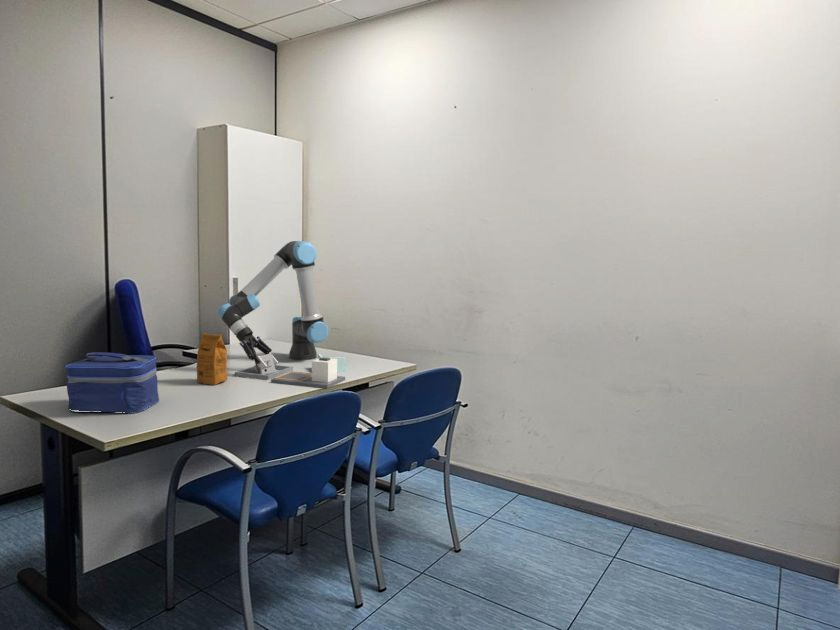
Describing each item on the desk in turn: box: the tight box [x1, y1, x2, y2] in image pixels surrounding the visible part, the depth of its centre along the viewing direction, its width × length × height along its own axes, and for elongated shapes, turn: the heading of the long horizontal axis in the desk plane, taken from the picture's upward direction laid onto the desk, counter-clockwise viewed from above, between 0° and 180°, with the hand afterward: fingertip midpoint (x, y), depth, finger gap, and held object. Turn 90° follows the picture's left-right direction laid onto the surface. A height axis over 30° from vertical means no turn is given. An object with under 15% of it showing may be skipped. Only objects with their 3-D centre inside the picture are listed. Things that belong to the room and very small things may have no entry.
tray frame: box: [234, 364, 294, 381], centre depth 272 cm, size 22×18×2 cm
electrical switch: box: [254, 353, 277, 375], centre depth 271 cm, size 9×5×9 cm, turn 151°
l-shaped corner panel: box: [317, 353, 347, 373], centre depth 283 cm, size 12×12×8 cm
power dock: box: [270, 356, 346, 389], centre depth 257 cm, size 18×28×11 cm, turn 72°
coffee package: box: [196, 332, 228, 386], centre depth 250 cm, size 10×12×22 cm
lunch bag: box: [65, 351, 160, 414], centre depth 209 cm, size 31×21×20 cm
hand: (270, 366), depth 270 cm, fingers closed on electrical switch, 9 cm apart
